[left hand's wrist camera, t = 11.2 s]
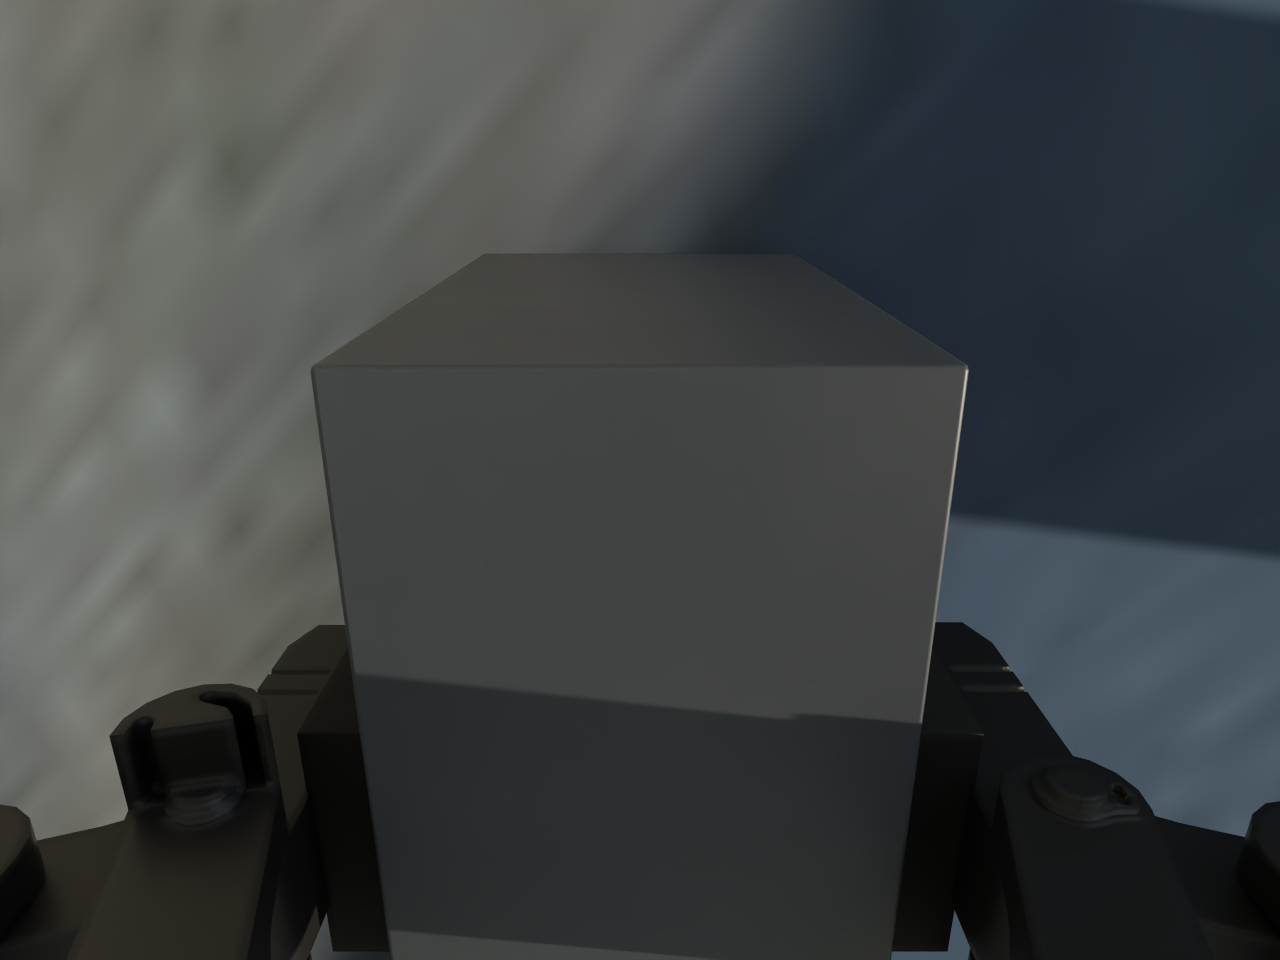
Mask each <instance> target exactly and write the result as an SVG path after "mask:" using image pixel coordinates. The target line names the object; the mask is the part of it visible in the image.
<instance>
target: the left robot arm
mask: <svg viewBox="0 0 1280 960" xmlns="http://www.w3.org/2000/svg"><path fill="white" fill-rule="evenodd" d="M110 740H111V744H112V748H113V752H114V756H115V760H116V763H117V767H118V771H119V775H120V779H121V783H122V787H123V791H124V794H125V798H126V802H127V806H128V813H127V815H126V817H125V820H123V821H120V822H116V823H113V824H109V825H106V826H102V827H97V828H93V829H88V830H84V831H79V832H74V833H70V834H65V835H61V836H56V837H52V838H47V839H42V840H38V841H36V837H35V834H34V831H33V828H32V824H31V821H30V818H29V817H28V816H27V815H25V814H24V813H23V812H22V811H20V810H19V809H18V808H17V807H12V806H6V805H0V960H312V958H311V949H312V947H313V944H314V942H315V939H316V937H317V935H318V932H319V930H320V927H321V925H322V922H323V920H324V917H325V915H326V913H327V917H328V923H329V929H330V935H331V941H332V947H333V951H390V950H389V943H388V935H387V928H386V921H385V913H384V906H383V899H382V891H381V884H380V877H379V869H378V862H377V855H376V847H375V840H374V833H373V825H372V818H371V811H370V803H369V796H368V789H367V781H366V774H365V767H364V759H363V752H362V745H361V737H360V730H359V723H358V715H357V708H356V700H355V693H354V686H353V678H352V671H351V664H350V656H349V649H348V642H347V634H346V627H345V625H318V626H317V627H315V628H314V629H312V630H311V631H310V632H308V633H307V634H305V635H304V636H302V637H301V638H299V639H298V640H296V641H295V642H293V643H292V644H291V645H289V646H288V647H287V649H286V650H285V652H284V653H283V654H282V656H281V657H280V659H279V660H278V662H277V663H276V664H275V666H274V667H273V669H272V673H271V675H268V676H267V677H266V679H265V680H264V681H263V683H262V684H261V686H260V687H259V688H258V693H257V692H256V691H255V690H253V689H251V688H247V687H243V686H239V685H235V684H207V685H200V686H196V687H192V688H187V689H183V690H178V691H174V692H172V693H170V694H167V695H165V696H162V697H160V698H158V699H155V700H153V701H150V702H148V703H146V704H145V705H143V706H142V707H140V708H139V709H137V710H136V711H134V712H133V713H131V714H130V715H128V716H127V717H125V718H124V719H123V720H122V721H121V722H120V724H119V725H118V726H117V727H116V729H115V730H114V731H113V732H112V733H111V735H110ZM954 909H955V912H956V914H957V917H958V919H959V921H960V924H961V926H962V929H963V931H964V933H965V936H966V938H967V941H968V943H969V946H970V952H969V958H968V960H1280V801H1278V802H1272V803H1266V804H1264V805H1263V806H1262V807H1261V808H1259V809H1258V810H1257V811H1256V812H1255V813H1253V814H1252V817H1251V820H1250V824H1249V827H1248V830H1247V833H1246V837H1242V836H1237V835H1232V834H1228V833H1223V832H1219V831H1214V830H1209V829H1205V828H1200V827H1196V826H1191V825H1186V824H1182V823H1178V822H1174V821H1170V820H1167V819H1163V818H1160V817H1156V816H1154V813H1153V811H1152V809H1151V807H1150V806H1149V804H1148V803H1147V802H1146V800H1145V799H1144V797H1143V796H1142V795H1141V793H1140V792H1139V790H1138V789H1136V788H1135V787H1134V786H1132V785H1131V784H1130V783H1129V782H1127V781H1126V780H1125V779H1123V778H1122V777H1121V776H1120V775H1118V774H1117V773H1115V772H1113V771H1111V770H1109V769H1107V768H1105V767H1102V766H1100V765H1098V764H1096V763H1094V762H1092V761H1090V760H1086V759H1082V758H1078V757H1074V756H1073V755H1072V754H1071V753H1070V751H1069V750H1068V748H1067V747H1066V746H1065V744H1064V743H1063V741H1062V740H1061V739H1060V737H1059V736H1058V734H1057V733H1056V732H1055V730H1054V729H1053V727H1052V726H1051V725H1050V723H1049V722H1048V720H1047V719H1046V718H1045V716H1044V715H1043V713H1042V712H1041V711H1040V709H1039V708H1038V706H1037V705H1036V704H1035V702H1034V701H1033V699H1032V698H1031V696H1030V695H1029V694H1028V692H1024V687H1023V685H1022V684H1021V682H1020V681H1019V680H1018V678H1017V677H1016V675H1015V674H1014V673H1013V672H1010V670H1009V666H1008V664H1007V663H1006V661H1005V660H1004V659H1003V657H1002V656H1001V654H1000V653H999V652H998V650H997V649H996V647H995V646H994V645H993V643H992V642H990V641H989V640H987V639H986V638H984V637H983V636H981V635H980V634H978V633H977V632H975V631H974V630H973V629H971V628H970V627H968V626H967V625H965V624H964V623H962V622H935V629H934V636H933V644H932V651H931V659H930V666H929V674H928V682H927V689H926V697H925V704H924V712H923V719H922V727H921V734H920V742H919V750H918V757H917V765H916V772H915V780H914V787H913V795H912V803H911V810H910V818H909V825H908V833H907V840H906V848H905V855H904V863H903V871H902V878H901V886H900V893H899V901H898V908H897V916H896V923H895V931H894V939H893V946H892V951H948V945H949V939H950V933H951V927H952V921H953V915H954Z"/></svg>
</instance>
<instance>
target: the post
mask: <svg viewBox="0 0 1280 960" xmlns="http://www.w3.org/2000/svg"><path fill="white" fill-rule="evenodd" d="M968 372H969V369H968V366H967V365H966V364H965V363H963V362H961V361H960V360H958V359H957V358H955V357H954V356H952V355H951V354H949V353H948V352H946V351H944V350H943V349H941V348H940V347H938V346H937V345H935V344H934V343H932V342H931V341H929V340H927V339H926V338H924V337H923V336H921V335H920V334H918V333H917V332H915V331H913V330H912V329H910V328H909V327H907V326H906V325H904V324H903V323H901V322H900V321H898V320H896V319H895V318H893V317H892V316H890V315H889V314H887V313H886V312H884V311H883V310H881V309H879V308H878V307H876V306H875V305H873V304H872V303H870V302H869V301H867V300H866V299H864V298H862V297H861V296H859V295H858V294H856V293H855V292H853V291H852V290H850V289H849V288H847V287H845V286H844V285H842V284H841V283H839V282H838V281H836V280H835V279H833V278H831V277H830V276H828V275H827V274H825V273H824V272H822V271H821V270H819V269H818V268H816V267H814V266H813V265H811V264H810V263H808V262H807V261H805V260H804V259H802V258H801V257H799V256H797V255H796V254H794V253H761V254H484V255H482V256H481V257H479V258H478V259H476V260H475V261H473V262H472V263H470V264H469V265H467V266H465V267H464V268H462V269H461V270H459V271H458V272H456V273H455V274H453V275H452V276H450V277H449V278H447V279H446V280H444V281H442V282H441V283H439V284H438V285H436V286H435V287H433V288H432V289H430V290H429V291H427V292H426V293H424V294H423V295H421V296H419V297H418V298H416V299H415V300H413V301H412V302H410V303H409V304H407V305H406V306H404V307H403V308H401V309H400V310H398V311H396V312H395V313H393V314H392V315H390V316H389V317H387V318H386V319H384V320H383V321H381V322H380V323H378V324H377V325H375V326H373V327H372V328H370V329H369V330H367V331H366V332H364V333H363V334H361V335H360V336H358V337H357V338H355V339H354V340H352V341H350V342H349V343H347V344H346V345H344V346H343V347H341V348H340V349H338V350H337V351H335V352H334V353H332V354H331V355H329V356H327V357H326V358H324V359H323V360H321V361H320V362H318V363H317V364H315V365H314V366H312V369H311V377H312V385H313V392H314V399H315V407H316V414H317V421H318V429H319V436H320V443H321V451H322V458H323V466H324V473H325V480H326V488H327V495H328V502H329V510H330V517H331V524H332V532H333V539H334V546H335V554H336V561H337V568H338V576H339V583H340V590H341V598H342V605H343V612H344V620H345V627H346V634H347V642H348V649H349V656H350V664H351V671H352V678H353V686H354V693H355V700H356V708H357V715H358V723H359V730H360V737H361V745H362V752H363V759H364V767H365V774H366V781H367V789H368V796H369V803H370V811H371V818H372V825H373V833H374V840H375V847H376V855H377V862H378V869H379V877H380V884H381V891H382V899H383V906H384V913H385V921H386V928H387V935H388V943H389V950H390V958H391V960H891V954H892V946H893V939H894V931H895V923H896V916H897V908H898V901H899V893H900V886H901V878H902V871H903V863H904V855H905V848H906V840H907V833H908V825H909V818H910V810H911V803H912V795H913V787H914V780H915V772H916V765H917V757H918V750H919V742H920V734H921V727H922V719H923V712H924V704H925V697H926V689H927V682H928V674H929V666H930V659H931V651H932V644H933V636H934V629H935V621H936V614H937V606H938V598H939V591H940V583H941V576H942V568H943V561H944V553H945V546H946V538H947V530H948V523H949V515H950V508H951V500H952V493H953V485H954V478H955V470H956V462H957V455H958V447H959V440H960V432H961V425H962V417H963V410H964V402H965V394H966V387H967V379H968Z"/></svg>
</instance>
